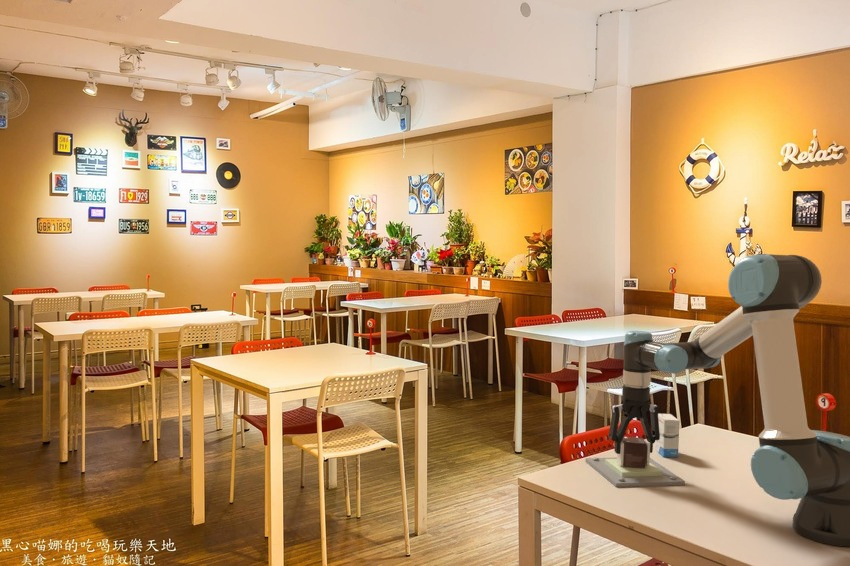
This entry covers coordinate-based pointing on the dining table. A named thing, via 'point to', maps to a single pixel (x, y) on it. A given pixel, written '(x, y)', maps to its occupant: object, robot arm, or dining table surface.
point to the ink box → (668, 436)
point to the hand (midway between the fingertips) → (633, 464)
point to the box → (634, 452)
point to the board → (634, 473)
